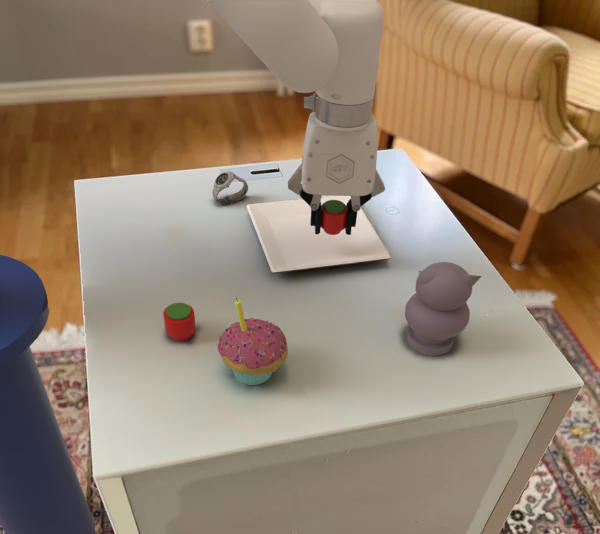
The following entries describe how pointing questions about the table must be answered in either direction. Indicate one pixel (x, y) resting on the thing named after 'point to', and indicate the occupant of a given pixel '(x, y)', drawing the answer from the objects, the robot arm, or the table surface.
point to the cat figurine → (438, 308)
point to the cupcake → (252, 348)
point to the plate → (311, 237)
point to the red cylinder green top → (333, 216)
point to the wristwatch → (224, 182)
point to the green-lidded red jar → (179, 321)
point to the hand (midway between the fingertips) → (332, 228)
